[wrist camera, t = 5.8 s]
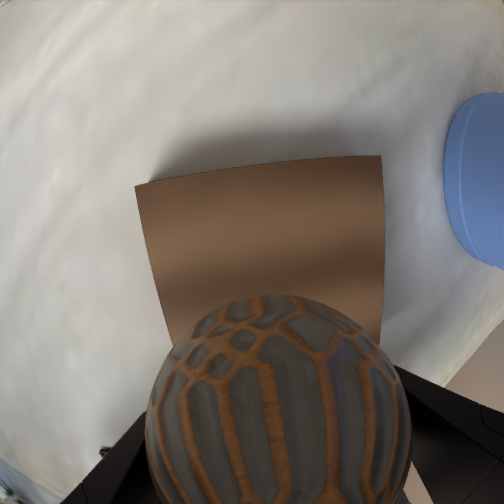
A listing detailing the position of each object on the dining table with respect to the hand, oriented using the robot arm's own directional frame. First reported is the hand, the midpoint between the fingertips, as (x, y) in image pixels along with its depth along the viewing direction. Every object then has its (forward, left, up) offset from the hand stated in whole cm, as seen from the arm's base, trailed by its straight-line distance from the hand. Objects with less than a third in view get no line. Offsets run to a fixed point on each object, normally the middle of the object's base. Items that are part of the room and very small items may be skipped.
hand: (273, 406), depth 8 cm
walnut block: (-1, -2, -13) cm, 13 cm away
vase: (0, 0, -3) cm, 3 cm away
